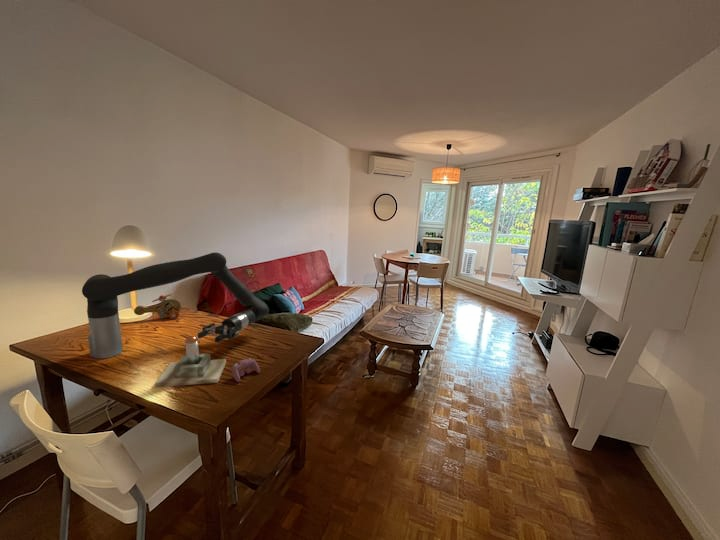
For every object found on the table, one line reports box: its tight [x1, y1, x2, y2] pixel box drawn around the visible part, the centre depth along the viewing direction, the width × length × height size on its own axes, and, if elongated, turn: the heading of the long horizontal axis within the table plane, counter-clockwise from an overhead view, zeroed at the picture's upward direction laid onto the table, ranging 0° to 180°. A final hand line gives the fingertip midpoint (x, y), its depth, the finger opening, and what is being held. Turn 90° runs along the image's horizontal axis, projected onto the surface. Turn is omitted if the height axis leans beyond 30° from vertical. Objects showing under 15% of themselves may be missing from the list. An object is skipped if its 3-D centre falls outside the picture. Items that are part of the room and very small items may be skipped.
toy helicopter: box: [133, 293, 182, 320], centre depth 154 cm, size 8×21×14 cm, turn 122°
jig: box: [154, 353, 227, 388], centre depth 108 cm, size 20×14×6 cm
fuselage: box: [184, 335, 200, 365], centre depth 107 cm, size 4×4×14 cm
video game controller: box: [230, 358, 261, 383], centre depth 109 cm, size 10×5×7 cm, turn 142°
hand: (207, 338), depth 112 cm, fingers open, 8 cm apart
